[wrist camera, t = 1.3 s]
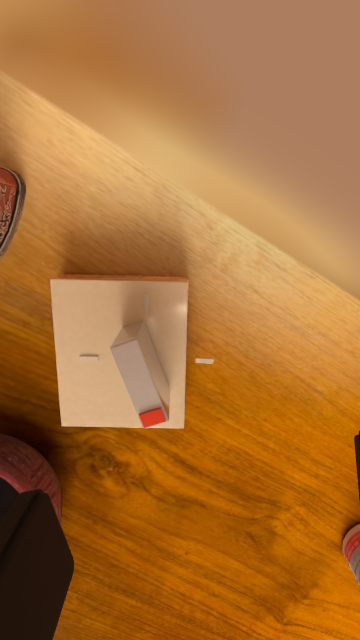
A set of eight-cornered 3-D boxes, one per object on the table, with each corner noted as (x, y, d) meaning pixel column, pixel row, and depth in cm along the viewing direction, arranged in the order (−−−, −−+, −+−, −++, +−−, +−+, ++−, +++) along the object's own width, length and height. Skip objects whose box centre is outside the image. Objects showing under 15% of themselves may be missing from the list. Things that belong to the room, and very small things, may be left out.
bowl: (-80, 487, 31) (-164, 569, 24) (-21, 387, 29) (-95, 444, 21) (65, 560, 34) (31, 657, 26) (132, 474, 31) (116, 554, 23)
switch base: (63, 273, 26) (48, 279, 23) (213, 277, 26) (217, 282, 23) (72, 407, 29) (60, 427, 26) (206, 410, 29) (209, 430, 26)
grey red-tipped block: (121, 327, 24) (108, 349, 20) (144, 319, 24) (136, 340, 20) (149, 396, 26) (142, 431, 21) (170, 389, 26) (169, 423, 21)
